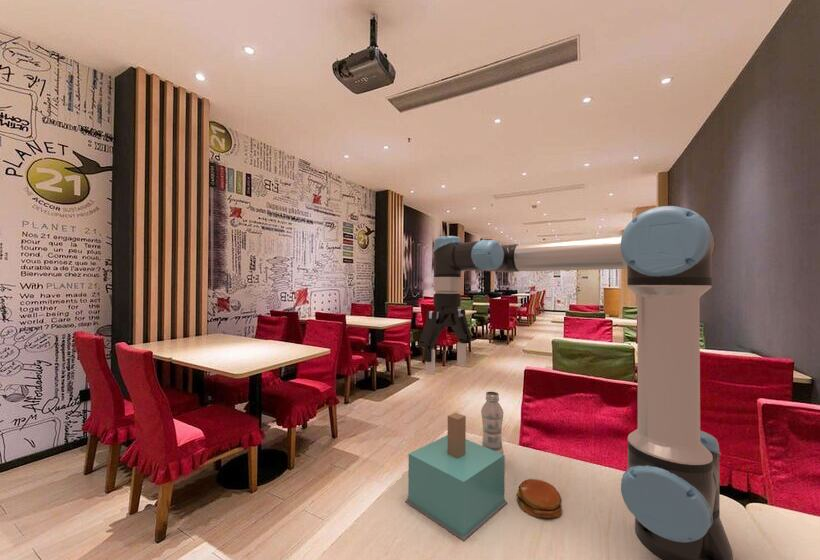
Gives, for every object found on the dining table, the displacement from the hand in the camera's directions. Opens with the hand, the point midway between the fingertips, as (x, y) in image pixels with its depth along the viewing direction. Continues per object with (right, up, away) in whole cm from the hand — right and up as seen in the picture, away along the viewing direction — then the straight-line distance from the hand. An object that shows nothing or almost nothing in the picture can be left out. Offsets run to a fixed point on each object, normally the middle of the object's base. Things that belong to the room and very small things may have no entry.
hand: (446, 369), depth 94 cm
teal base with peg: (+1, -27, -14) cm, 31 cm away
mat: (+1, -28, -14) cm, 31 cm away
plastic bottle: (+14, -28, +5) cm, 32 cm away
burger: (+20, -28, -15) cm, 38 cm away
